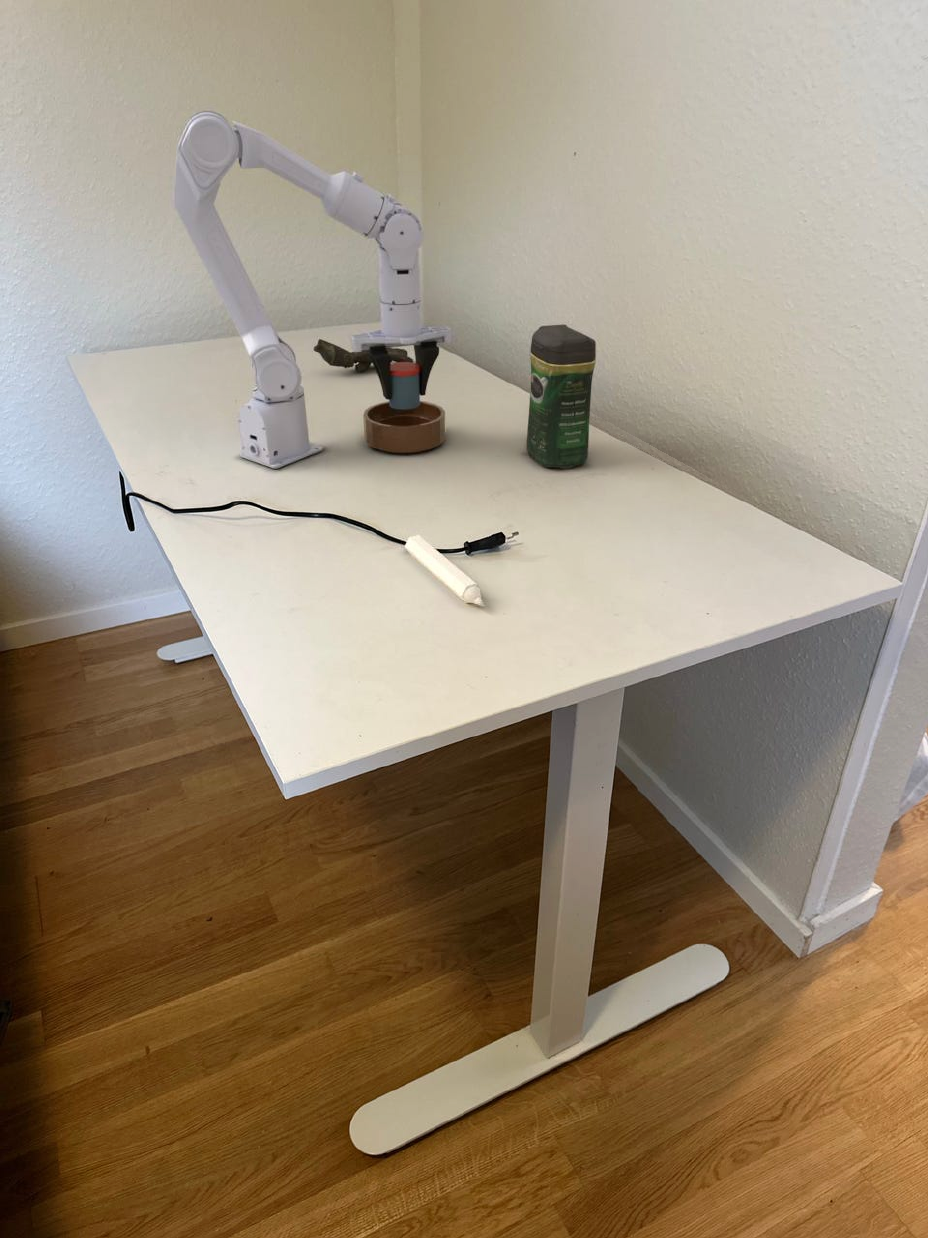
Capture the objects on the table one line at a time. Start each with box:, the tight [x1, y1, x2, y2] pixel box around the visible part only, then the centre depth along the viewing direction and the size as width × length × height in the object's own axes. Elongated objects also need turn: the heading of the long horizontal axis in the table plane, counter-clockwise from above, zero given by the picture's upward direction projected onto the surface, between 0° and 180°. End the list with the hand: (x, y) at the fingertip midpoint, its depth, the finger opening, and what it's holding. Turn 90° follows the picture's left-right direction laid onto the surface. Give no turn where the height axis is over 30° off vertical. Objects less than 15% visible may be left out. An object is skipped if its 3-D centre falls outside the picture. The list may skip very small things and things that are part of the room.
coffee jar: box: [525, 324, 597, 469], centre depth 120 cm, size 10×8×19 cm
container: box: [388, 362, 421, 410], centre depth 126 cm, size 5×5×6 cm
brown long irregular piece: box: [313, 338, 414, 373], centre depth 161 cm, size 6×6×20 cm
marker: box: [404, 534, 485, 608], centre depth 94 cm, size 3×2×16 cm
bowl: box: [362, 400, 446, 454], centre depth 130 cm, size 12×12×4 cm
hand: (404, 395), depth 127 cm, fingers closed on container, 5 cm apart
